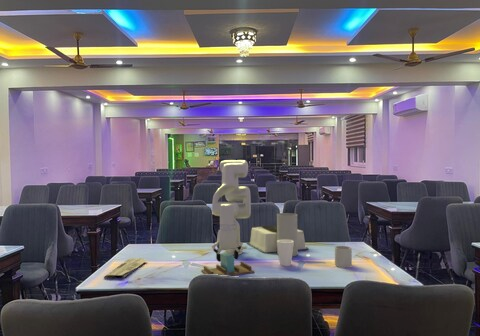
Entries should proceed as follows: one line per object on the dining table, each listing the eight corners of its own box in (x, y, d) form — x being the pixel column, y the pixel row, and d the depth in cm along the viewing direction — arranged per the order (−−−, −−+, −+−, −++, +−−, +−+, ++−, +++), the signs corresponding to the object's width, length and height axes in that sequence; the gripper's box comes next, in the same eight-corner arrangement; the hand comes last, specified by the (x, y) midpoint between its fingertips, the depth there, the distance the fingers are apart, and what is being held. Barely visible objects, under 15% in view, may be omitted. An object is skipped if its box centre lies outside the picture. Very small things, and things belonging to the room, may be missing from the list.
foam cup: (295, 262, 212) (295, 240, 212) (292, 267, 203) (291, 243, 203) (279, 261, 215) (278, 239, 215) (275, 265, 206) (274, 242, 206)
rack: (242, 266, 206) (242, 260, 206) (254, 272, 193) (254, 266, 193) (201, 271, 196) (201, 265, 196) (210, 278, 183) (210, 272, 183)
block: (227, 267, 199) (227, 252, 199) (234, 271, 191) (234, 256, 191) (220, 268, 198) (220, 253, 198) (227, 272, 190) (227, 257, 190)
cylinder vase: (274, 256, 228) (274, 215, 228) (280, 251, 240) (280, 212, 239) (294, 257, 223) (294, 216, 223) (299, 253, 235) (299, 213, 235)
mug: (342, 268, 199) (342, 249, 199) (330, 264, 207) (330, 246, 207) (357, 265, 204) (357, 247, 204) (345, 262, 212) (345, 244, 212)
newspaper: (127, 262, 219) (127, 256, 219) (148, 262, 219) (148, 256, 218) (102, 280, 184) (102, 273, 184) (127, 280, 183) (127, 273, 183)
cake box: (246, 243, 267) (245, 226, 267) (287, 240, 278) (287, 223, 278) (264, 254, 234) (264, 235, 234) (311, 250, 244) (311, 231, 244)
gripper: (239, 225, 201) (239, 256, 201) (209, 227, 194) (209, 260, 194) (245, 227, 194) (245, 259, 195) (214, 229, 187) (214, 263, 187)
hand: (227, 260), depth 194 cm, fingers open, 9 cm apart
